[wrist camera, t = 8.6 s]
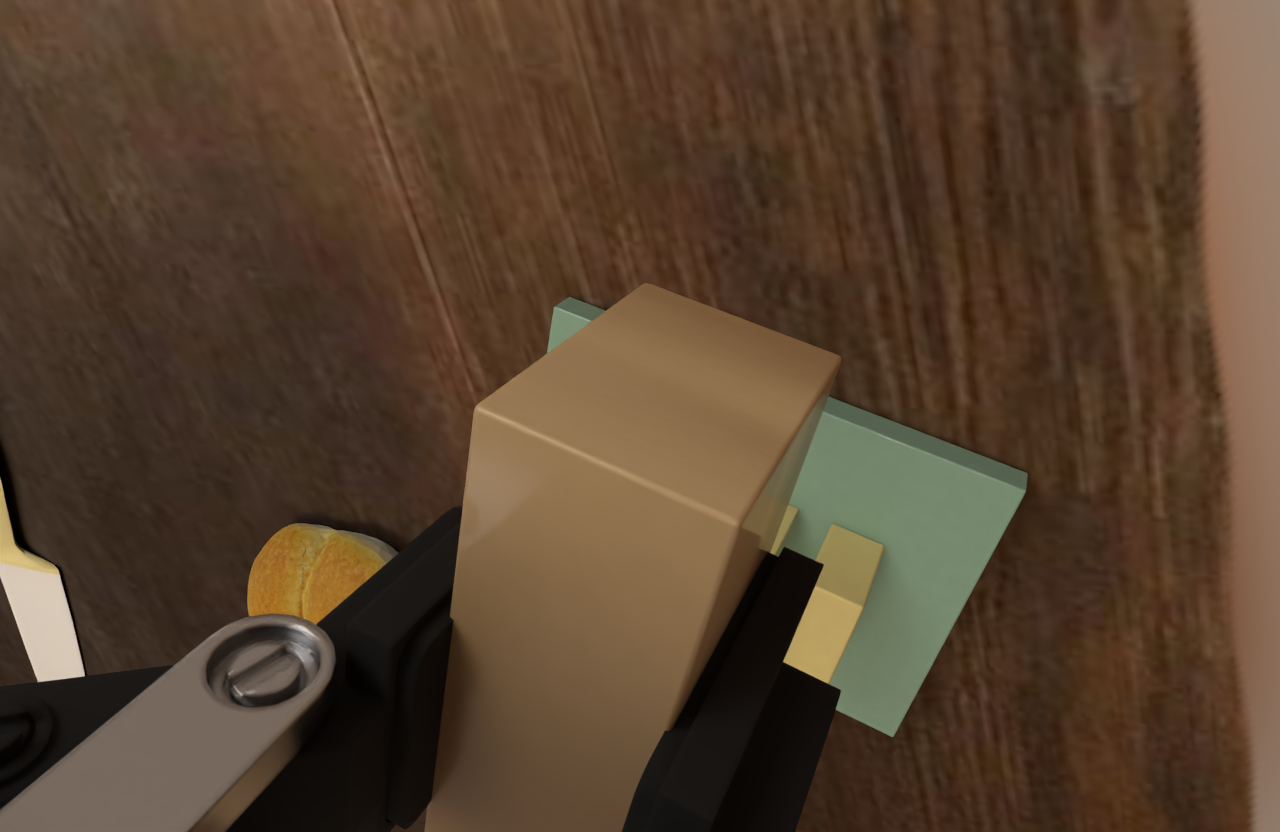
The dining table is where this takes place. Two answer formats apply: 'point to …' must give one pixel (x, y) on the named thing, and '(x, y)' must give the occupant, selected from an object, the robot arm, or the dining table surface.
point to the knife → (38, 607)
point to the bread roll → (312, 570)
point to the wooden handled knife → (610, 552)
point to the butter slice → (834, 602)
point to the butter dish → (887, 536)
